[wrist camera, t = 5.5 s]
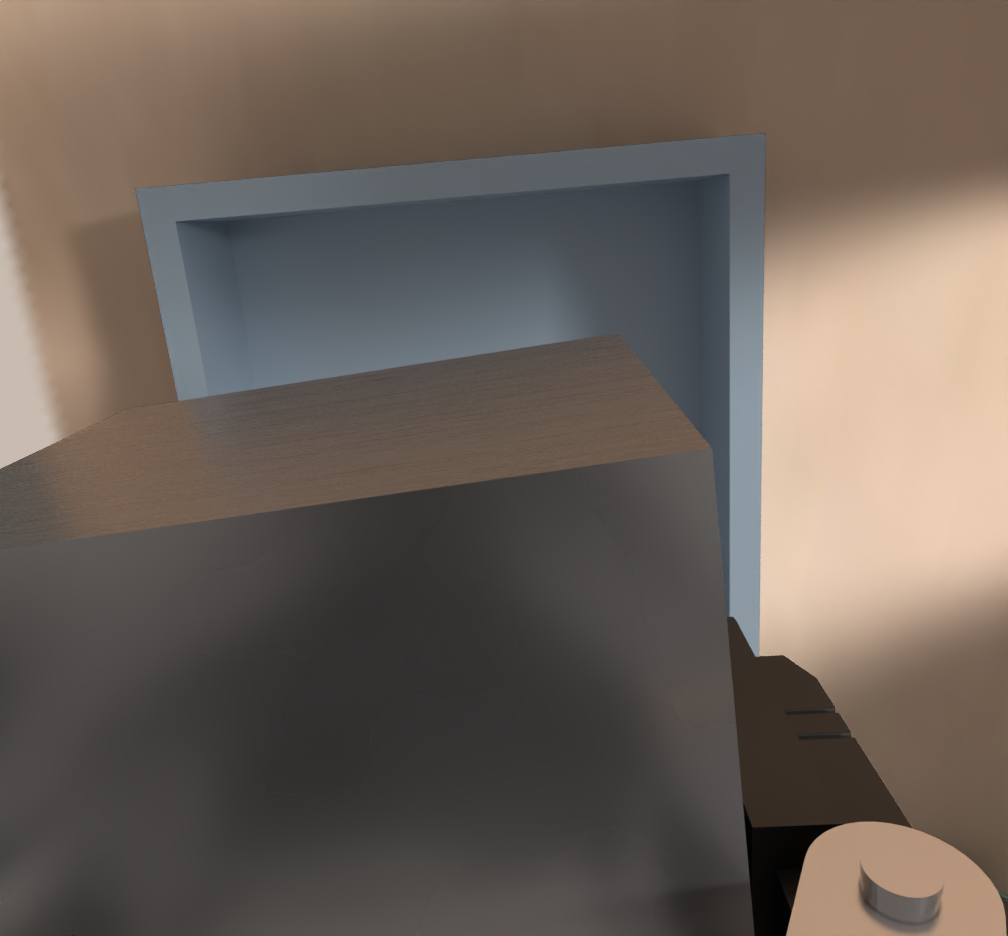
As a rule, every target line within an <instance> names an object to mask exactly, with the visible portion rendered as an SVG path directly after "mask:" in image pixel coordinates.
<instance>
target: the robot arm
mask: <svg viewBox="0 0 1008 936" xmlns="http://www.w3.org/2000/svg"><path fill="white" fill-rule="evenodd" d="M727 625H728V637H729V648H730V660H731V671H732V683H733V694H734V706H735V717H736V729H737V740H738V752H739V763H740V775H741V786H742V798H743V809H744V821H745V832H746V843H747V855H748V866H749V878H750V889H751V901H752V912H753V924H754V935H755V936H1008V901H1007V900H1004V899H1002V898H1000V895H999V893H998V891H997V889H996V888H995V886H994V885H993V883H992V882H991V880H990V879H989V877H988V876H987V875H986V874H985V873H984V872H983V871H982V870H981V869H980V867H979V866H977V865H976V864H975V863H974V862H973V861H972V860H970V859H969V858H968V857H967V856H966V855H964V854H963V853H961V852H960V851H958V850H957V849H955V848H954V847H953V846H951V845H949V844H947V843H945V842H943V841H942V840H940V839H938V838H936V837H933V836H931V835H929V834H926V833H924V832H922V831H918V830H915V829H912V827H911V826H910V824H909V822H908V821H907V819H906V818H905V816H904V815H903V813H902V812H901V810H900V808H899V807H898V805H897V804H896V802H895V801H894V799H893V797H892V796H891V794H890V793H889V791H888V790H887V788H886V786H885V785H884V783H883V782H882V780H881V779H880V777H879V776H878V774H877V772H876V771H875V769H874V768H873V766H872V765H871V763H870V761H869V760H868V758H867V757H866V755H865V754H864V752H863V750H862V749H861V747H860V746H859V744H858V743H857V741H856V739H855V738H851V734H850V730H849V729H848V727H847V725H846V724H845V722H844V721H843V719H842V718H841V716H840V714H839V713H836V712H835V707H834V705H833V703H832V702H831V700H830V699H829V697H828V696H827V694H826V693H825V691H824V689H823V688H822V686H821V685H820V683H819V682H818V680H817V678H815V677H814V676H812V675H811V674H809V673H808V672H807V671H805V670H804V669H802V668H801V667H799V666H798V665H796V664H795V663H794V662H792V661H791V660H789V659H788V658H786V657H785V656H783V655H780V656H760V657H755V655H754V653H753V651H752V649H751V647H750V645H749V644H748V642H747V640H746V638H745V636H744V634H743V632H742V630H741V629H740V627H739V625H738V623H737V621H736V620H735V618H734V617H727Z"/></svg>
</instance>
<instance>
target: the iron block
mask: <svg viewBox="0 0 1008 936" xmlns="http://www.w3.org/2000/svg"><path fill="white" fill-rule="evenodd" d="M0 936H755V935H754V924H753V912H752V901H751V889H750V878H749V866H748V855H747V843H746V832H745V821H744V809H743V798H742V786H741V775H740V763H739V752H738V740H737V729H736V717H735V706H734V694H733V683H732V671H731V660H730V648H729V637H728V625H727V614H726V602H725V591H724V579H723V568H722V557H721V545H720V534H719V522H718V511H717V499H716V488H715V476H714V465H713V453H712V448H711V446H710V445H709V444H708V443H707V441H706V440H705V439H704V438H703V437H702V435H701V434H700V433H699V432H698V430H697V429H696V428H695V427H694V426H693V424H692V423H691V422H690V421H689V419H688V418H687V417H686V416H685V415H684V413H683V412H682V411H681V410H680V408H679V407H678V406H677V405H676V404H675V402H674V401H673V400H672V399H671V397H670V396H669V395H668V394H667V393H666V391H665V390H664V389H663V388H662V386H661V385H660V384H659V383H658V382H657V380H656V379H655V378H654V377H653V375H652V374H651V373H650V372H649V371H648V369H647V368H646V367H645V366H644V364H643V363H642V362H641V361H640V359H639V358H638V357H637V356H636V355H635V353H634V352H633V351H632V350H631V348H630V347H629V346H628V345H627V344H626V342H625V341H624V340H623V339H622V337H621V336H620V335H619V334H618V333H616V334H609V335H603V336H596V337H590V338H583V339H577V340H570V341H564V342H557V343H551V344H544V345H538V346H531V347H525V348H518V349H512V350H506V351H499V352H493V353H486V354H480V355H473V356H467V357H460V358H454V359H447V360H441V361H434V362H428V363H421V364H415V365H408V366H402V367H395V368H389V369H382V370H376V371H369V372H363V373H356V374H350V375H343V376H337V377H330V378H324V379H317V380H311V381H304V382H298V383H291V384H285V385H279V386H272V387H266V388H259V389H253V390H246V391H240V392H233V393H227V394H220V395H214V396H207V397H201V398H194V399H188V400H181V401H175V402H168V403H162V404H155V405H149V406H142V407H136V408H129V409H126V410H124V411H122V412H120V413H118V414H116V415H114V416H111V417H109V418H107V419H105V420H103V421H101V422H99V423H97V424H95V425H92V426H90V427H88V428H86V429H84V430H82V431H80V432H78V433H75V434H73V435H71V436H69V437H67V438H65V439H63V440H61V441H59V442H56V443H54V444H52V445H50V446H48V447H46V448H44V449H42V450H39V451H37V452H35V453H33V454H31V455H29V456H27V457H25V458H23V459H20V460H18V461H16V462H14V463H12V464H10V465H8V466H6V467H3V468H1V469H0Z"/></svg>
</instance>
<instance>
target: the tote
mask: <svg viewBox="0 0 1008 936" xmlns="http://www.w3.org/2000/svg"><path fill="white" fill-rule="evenodd" d="M135 190H136V195H137V200H138V205H139V210H140V215H141V220H142V225H143V230H144V235H145V240H146V245H147V250H148V254H149V259H150V264H151V269H152V274H153V279H154V284H155V289H156V294H157V299H158V304H159V309H160V314H161V319H162V324H163V328H164V333H165V338H166V343H167V348H168V353H169V358H170V363H171V368H172V373H173V378H174V383H175V388H176V393H177V398H178V401H181V400H188V399H194V398H201V397H207V396H214V395H220V394H227V393H233V392H240V391H246V390H253V389H259V388H266V387H272V386H279V385H285V384H291V383H298V382H304V381H311V380H317V379H324V378H330V377H337V376H343V375H350V374H356V373H363V372H369V371H376V370H382V369H389V368H395V367H402V366H408V365H415V364H421V363H428V362H434V361H441V360H447V359H454V358H460V357H467V356H473V355H480V354H486V353H493V352H499V351H506V350H512V349H518V348H525V347H531V346H538V345H544V344H551V343H557V342H564V341H570V340H577V339H583V338H590V337H596V336H603V335H609V334H616V333H618V334H619V335H620V336H621V337H622V339H623V340H624V341H625V342H626V344H627V345H628V346H629V347H630V348H631V350H632V351H633V352H634V353H635V355H636V356H637V357H638V358H639V359H640V361H641V362H642V363H643V364H644V366H645V367H646V368H647V369H648V371H649V372H650V373H651V374H652V375H653V377H654V378H655V379H656V380H657V382H658V383H659V384H660V385H661V386H662V388H663V389H664V390H665V391H666V393H667V394H668V395H669V396H670V397H671V399H672V400H673V401H674V402H675V404H676V405H677V406H678V407H679V408H680V410H681V411H682V412H683V413H684V415H685V416H686V417H687V418H688V419H689V421H690V422H691V423H692V424H693V426H694V427H695V428H696V429H697V430H698V432H699V433H700V434H701V435H702V437H703V438H704V439H705V440H706V441H707V443H708V444H709V445H710V446H711V448H712V453H713V465H714V476H715V488H716V499H717V511H718V522H719V534H720V545H721V557H722V568H723V579H724V591H725V602H726V614H727V617H734V618H735V620H736V621H737V623H738V625H739V627H740V629H741V630H742V632H743V634H744V636H745V638H746V640H747V642H748V644H749V645H750V647H751V649H752V651H753V653H754V655H755V657H759V625H760V543H761V460H762V378H763V296H764V213H765V133H760V134H749V135H737V136H726V137H715V138H703V139H692V140H681V141H669V142H658V143H647V144H635V145H624V146H613V147H602V148H590V149H579V150H568V151H556V152H545V153H534V154H522V155H511V156H500V157H488V158H477V159H466V160H455V161H443V162H432V163H421V164H409V165H398V166H387V167H375V168H364V169H353V170H341V171H330V172H319V173H308V174H296V175H285V176H274V177H262V178H251V179H240V180H228V181H217V182H206V183H195V184H183V185H172V186H161V187H149V188H138V189H135Z"/></svg>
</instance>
